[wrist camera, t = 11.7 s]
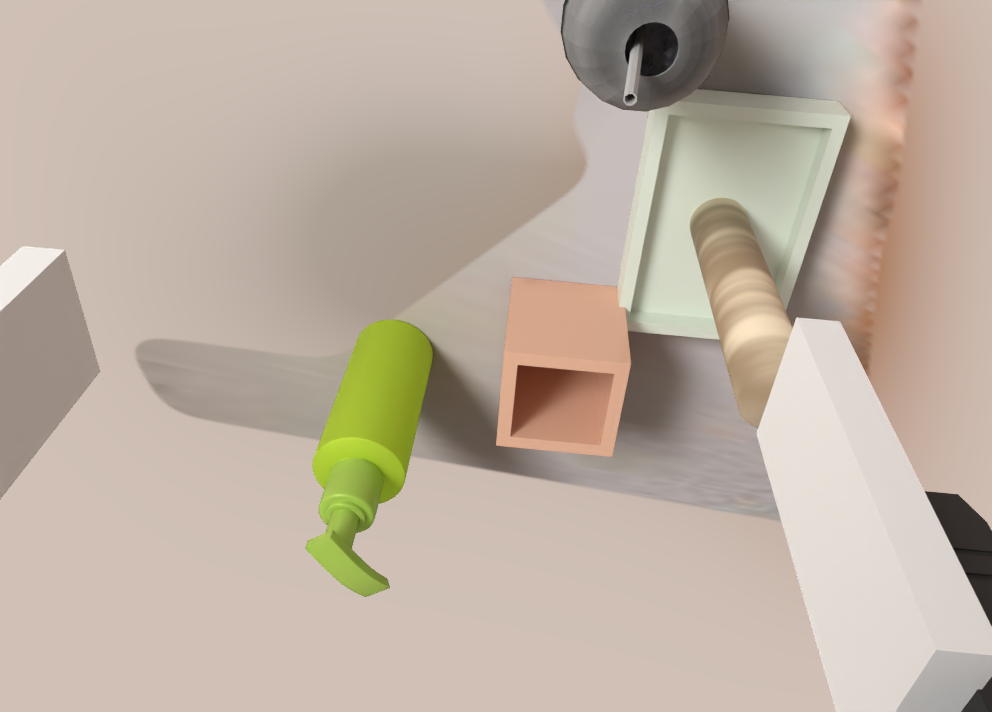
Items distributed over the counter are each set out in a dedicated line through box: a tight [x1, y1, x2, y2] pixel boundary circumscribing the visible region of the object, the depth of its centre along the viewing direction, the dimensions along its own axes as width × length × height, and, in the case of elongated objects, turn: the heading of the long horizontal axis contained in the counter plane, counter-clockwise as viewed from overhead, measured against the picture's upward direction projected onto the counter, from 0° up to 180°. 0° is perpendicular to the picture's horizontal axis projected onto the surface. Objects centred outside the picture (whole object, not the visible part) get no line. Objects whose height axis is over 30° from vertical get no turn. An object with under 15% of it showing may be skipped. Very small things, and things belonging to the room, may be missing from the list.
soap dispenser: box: [305, 320, 433, 597], centre depth 53 cm, size 6×7×20 cm
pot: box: [496, 277, 631, 457], centre depth 55 cm, size 8×8×9 cm
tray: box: [617, 89, 851, 340], centre depth 51 cm, size 16×11×3 cm
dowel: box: [690, 198, 793, 428], centre depth 44 cm, size 4×4×18 cm
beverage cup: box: [561, 0, 729, 111], centre depth 36 cm, size 7×7×20 cm
